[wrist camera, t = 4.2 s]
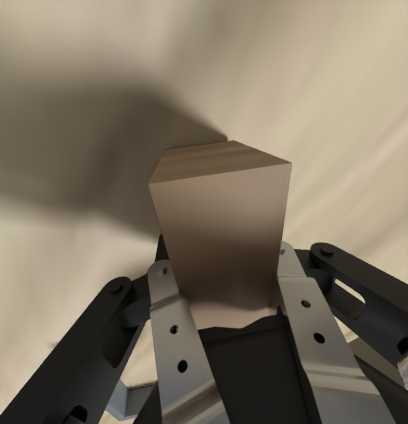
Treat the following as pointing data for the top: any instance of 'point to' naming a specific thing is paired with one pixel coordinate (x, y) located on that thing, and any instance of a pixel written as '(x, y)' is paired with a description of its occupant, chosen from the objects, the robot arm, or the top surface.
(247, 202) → the block
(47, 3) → the top surface
